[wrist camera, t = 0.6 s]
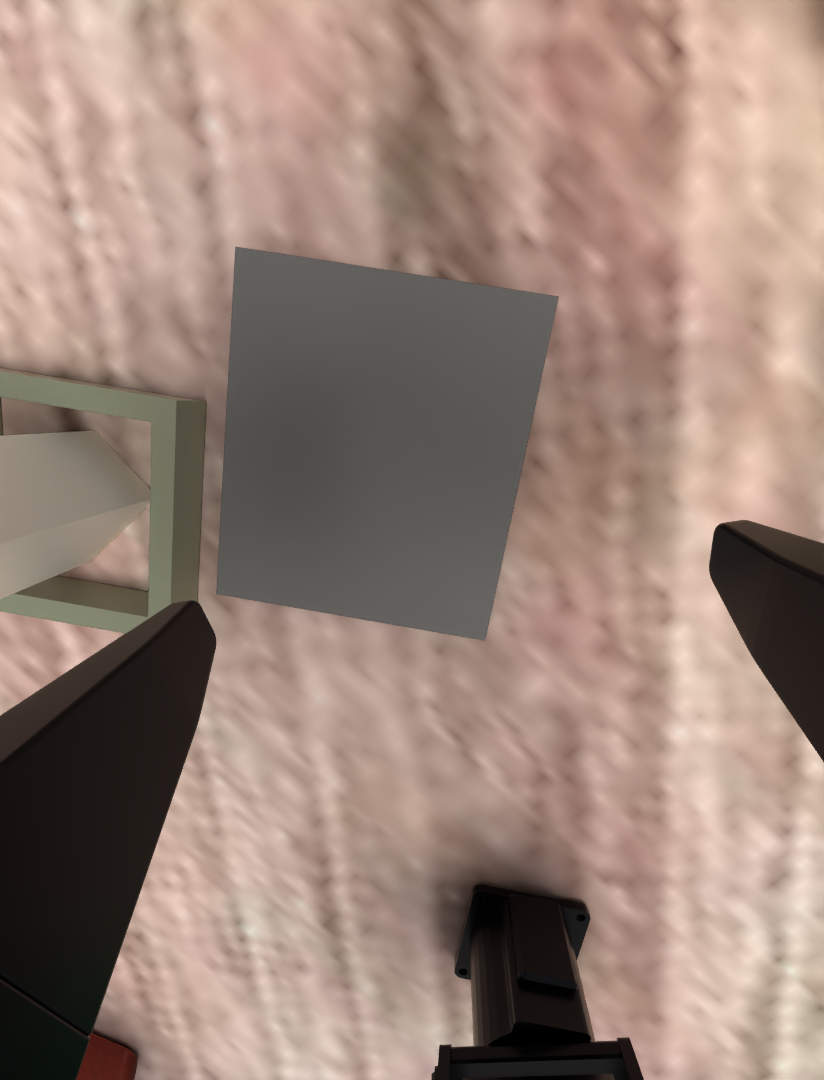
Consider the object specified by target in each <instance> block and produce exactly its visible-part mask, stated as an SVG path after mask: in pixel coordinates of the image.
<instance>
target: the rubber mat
mask: <svg viewBox="0 0 824 1080" xmlns="http://www.w3.org/2000/svg"><path fill="white" fill-rule="evenodd" d="M557 302H558V296H552V295H545V294H539V293H532V292H526V291H519V290H513V289H506V288H500V287H493V286H487V285H480V284H474V283H467V282H461V281H454V280H448V279H441V278H435V277H428V276H422V275H415V274H409V273H402V272H396V271H389V270H383V269H376V268H370V267H363V266H357V265H350V264H344V263H337V262H331V261H324V260H318V259H311V258H305V257H298V256H292V255H285V254H279V253H272V252H266V251H259V250H253V249H246V248H240V247H235V265H234V284H233V302H232V320H231V338H230V356H229V374H228V392H227V410H226V428H225V446H224V465H223V483H222V501H221V519H220V537H219V555H218V573H217V591H216V594H220V595H226V596H231V597H237V598H243V599H249V600H254V601H260V602H266V603H272V604H277V605H283V606H289V607H295V608H300V609H306V610H312V611H318V612H323V613H329V614H335V615H341V616H346V617H352V618H358V619H364V620H369V621H375V622H381V623H387V624H392V625H398V626H404V627H410V628H415V629H421V630H427V631H433V632H438V633H444V634H450V635H456V636H461V637H467V638H473V639H479V640H484V641H485V639H486V635H487V630H488V625H489V620H490V616H491V611H492V606H493V602H494V597H495V592H496V588H497V583H498V578H499V574H500V569H501V564H502V560H503V555H504V550H505V546H506V541H507V536H508V531H509V527H510V522H511V517H512V513H513V508H514V503H515V499H516V494H517V489H518V485H519V480H520V475H521V471H522V466H523V461H524V456H525V452H526V447H527V442H528V438H529V433H530V428H531V424H532V419H533V414H534V410H535V405H536V400H537V396H538V391H539V386H540V382H541V377H542V372H543V367H544V363H545V358H546V353H547V349H548V344H549V339H550V335H551V330H552V325H553V321H554V316H555V311H556V307H557Z"/></svg>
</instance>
